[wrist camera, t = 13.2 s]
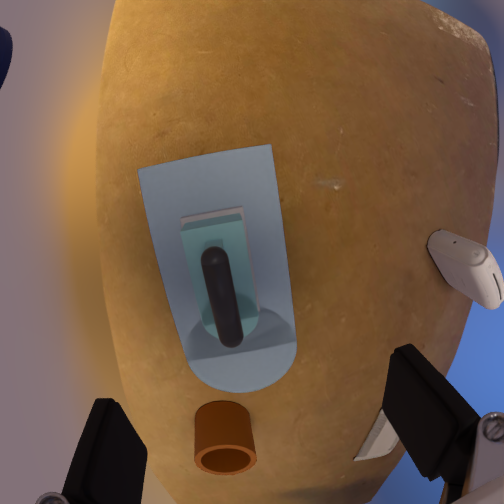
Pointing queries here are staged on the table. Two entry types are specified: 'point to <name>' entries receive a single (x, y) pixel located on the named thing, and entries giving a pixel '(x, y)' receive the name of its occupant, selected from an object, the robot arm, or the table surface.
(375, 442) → the grooming comb
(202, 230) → the iron
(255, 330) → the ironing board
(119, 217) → the table surface
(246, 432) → the brown cup
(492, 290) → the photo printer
